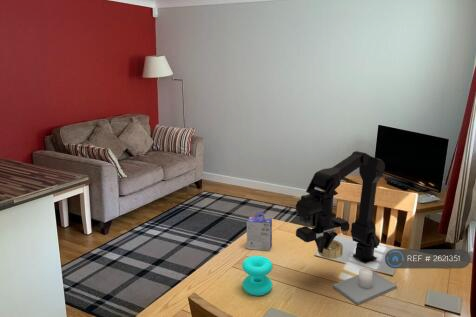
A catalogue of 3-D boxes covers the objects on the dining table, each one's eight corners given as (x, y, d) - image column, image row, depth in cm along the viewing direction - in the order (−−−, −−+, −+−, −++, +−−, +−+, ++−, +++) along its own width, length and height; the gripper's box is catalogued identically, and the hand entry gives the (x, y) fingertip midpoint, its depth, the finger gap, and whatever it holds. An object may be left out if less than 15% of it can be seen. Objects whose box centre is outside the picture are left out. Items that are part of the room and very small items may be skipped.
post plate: (370, 272, 136) (372, 257, 134) (396, 288, 126) (398, 271, 125) (332, 287, 127) (333, 271, 126) (357, 305, 118) (358, 288, 117)
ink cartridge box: (272, 245, 157) (272, 212, 153) (270, 251, 152) (271, 217, 148) (248, 243, 159) (248, 210, 155) (246, 249, 154) (246, 216, 150)
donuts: (260, 251, 132) (278, 263, 124) (260, 276, 134) (278, 290, 126) (236, 259, 127) (253, 273, 119) (237, 285, 129) (253, 301, 121)
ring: (331, 245, 136) (331, 237, 135) (346, 255, 129) (347, 247, 128) (313, 250, 132) (313, 242, 131) (328, 260, 125) (328, 252, 125)
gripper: (329, 196, 136) (327, 236, 140) (286, 207, 127) (285, 249, 131) (351, 206, 126) (349, 249, 130) (307, 218, 118) (305, 263, 122)
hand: (322, 252), depth 129 cm, fingers closed on ring
